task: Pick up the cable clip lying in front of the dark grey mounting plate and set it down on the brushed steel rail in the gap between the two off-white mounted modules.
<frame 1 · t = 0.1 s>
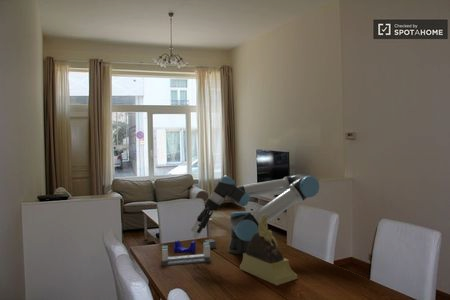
hand: (193, 234, 210), 15 cm above the table, tool tilted 35°, fingers open, 13 cm apart
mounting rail: (186, 260, 214), on the table
yellow and brown statuette: (267, 274, 190), on the table
cable clip: (184, 252, 231), on the table
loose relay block: (210, 247, 239), on the table
mounted modules: (186, 250, 214), on the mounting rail, point 5 cm above the table
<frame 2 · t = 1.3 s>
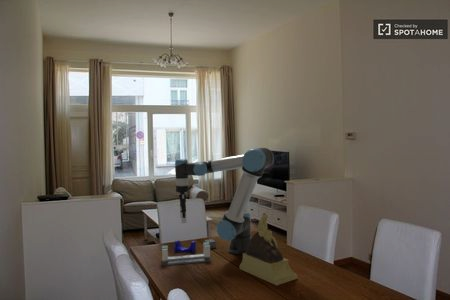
hand: (183, 220, 230), 19 cm above the table, tool pointing down, fingers open, 13 cm apart
nothing on the table moved.
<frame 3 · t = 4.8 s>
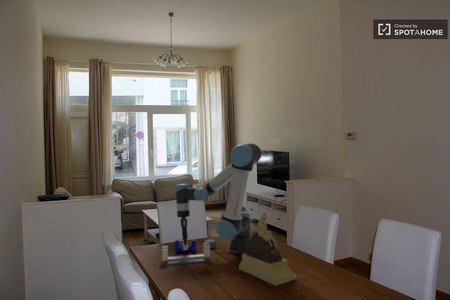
hand: (185, 248, 231), 2 cm above the table, tool pointing down, fingers closed on cable clip, 5 cm apart
cable clip: (185, 250, 231), point 1 cm above the table, touching gripper
everything else where it was.
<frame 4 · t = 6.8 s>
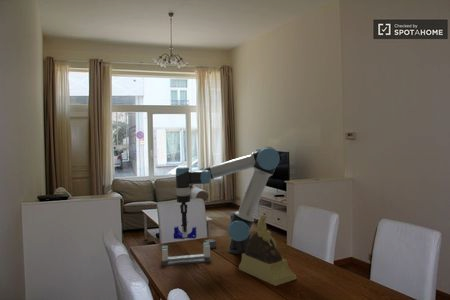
hand: (184, 235, 217), 13 cm above the table, tool pointing down, fingers closed on cable clip, 5 cm apart
cable clip: (185, 238, 217), point 12 cm above the table, touching gripper
everything else where it was.
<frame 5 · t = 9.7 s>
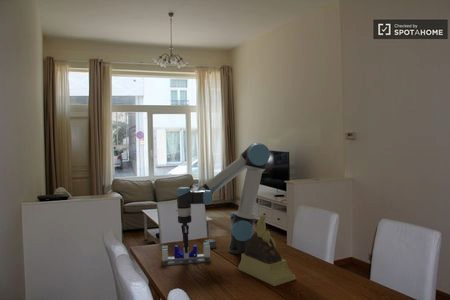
hand: (186, 256, 214), 2 cm above the table, tool pointing down, fingers closed on cable clip, 5 cm apart
cable clip: (185, 257, 214), point 2 cm above the table, touching gripper, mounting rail
when the fingers open (2 cm above the table, at t = 9.9 s): cable clip stays where it is, resting on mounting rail.
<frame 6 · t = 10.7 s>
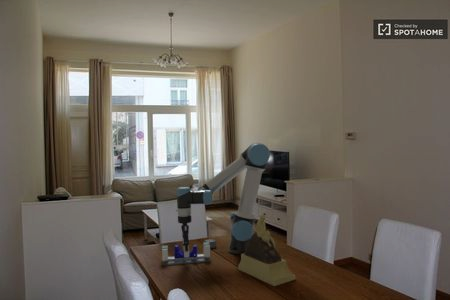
hand: (186, 253, 214), 4 cm above the table, tool pointing down, fingers open, 13 cm apart
cable clip: (186, 257, 214), point 2 cm above the table, touching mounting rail
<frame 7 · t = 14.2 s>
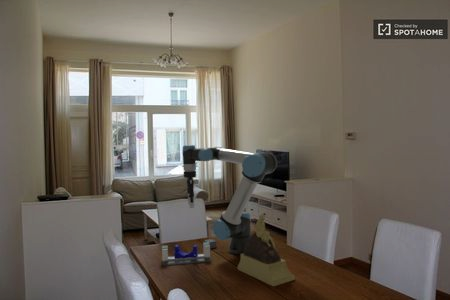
hand: (191, 205, 233), 27 cm above the table, tool pointing down, fingers open, 13 cm apart
at the end: cable clip 0.3 cm off-centre on the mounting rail, point 1.8 cm above the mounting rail's base; cable clip tilted 0°; the gripper is holding nothing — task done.
